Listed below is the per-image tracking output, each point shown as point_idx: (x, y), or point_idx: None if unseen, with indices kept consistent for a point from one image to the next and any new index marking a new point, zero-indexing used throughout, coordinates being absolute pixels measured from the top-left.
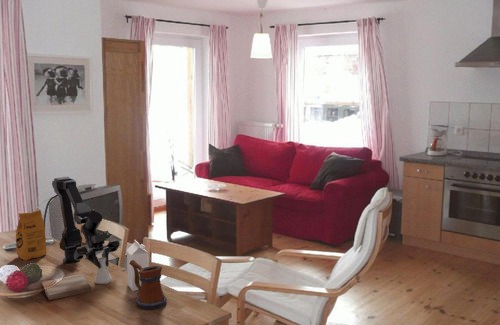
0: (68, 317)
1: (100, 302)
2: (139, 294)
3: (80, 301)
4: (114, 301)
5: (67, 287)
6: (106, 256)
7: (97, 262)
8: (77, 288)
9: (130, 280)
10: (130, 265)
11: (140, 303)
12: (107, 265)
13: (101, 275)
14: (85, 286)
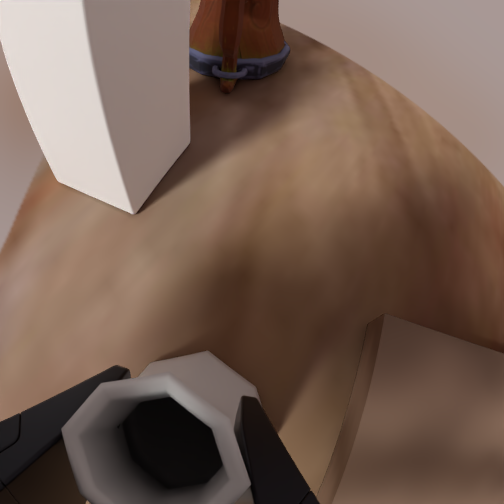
0: (489, 182)
1: (380, 172)
2: (273, 35)
3: (448, 251)
4: (326, 135)
5: (482, 412)
6: (28, 442)
7: (280, 454)
8: (454, 352)
9: (169, 122)
10: (175, 13)
11: (287, 44)
12: (128, 373)
13: (235, 392)
14: (409, 347)
